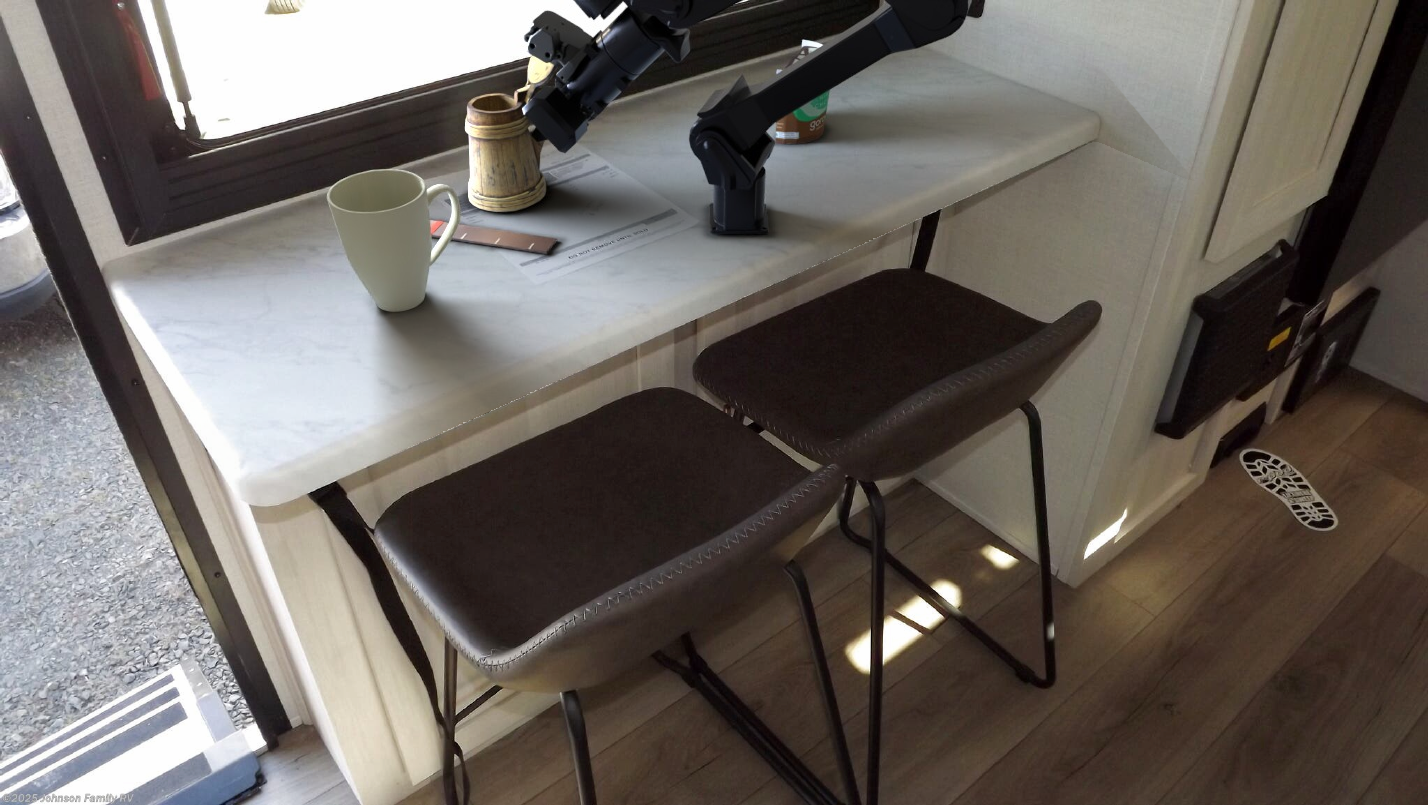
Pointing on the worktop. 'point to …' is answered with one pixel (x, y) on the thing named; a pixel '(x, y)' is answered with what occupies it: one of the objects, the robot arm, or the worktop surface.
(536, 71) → the wooden mug
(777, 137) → the food container
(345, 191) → the mug
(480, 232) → the ruler
